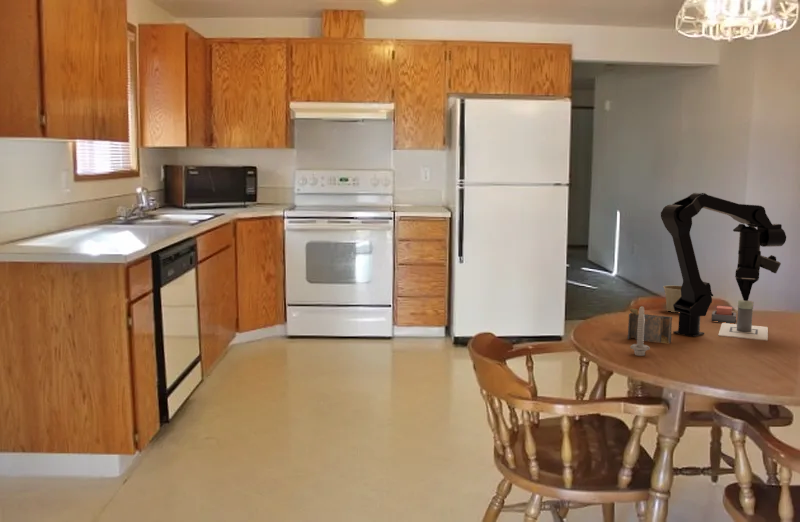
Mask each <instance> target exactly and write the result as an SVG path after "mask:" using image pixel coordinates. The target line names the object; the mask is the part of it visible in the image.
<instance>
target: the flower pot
mask: <svg viewBox="0 0 800 522" xmlns="http://www.w3.org/2000/svg"><path fill="white" fill-rule="evenodd" d="M681 287H682V285H673V284H672V285H663V287H662V288H663V289H664V293H665V303H666V311H667V312H668V311H671V312H676V311H675V310H674V307H673V305H674V304H675V302H676V301H677V300H678V299H679V298H680V297H681ZM671 312H670V313H671Z"/></svg>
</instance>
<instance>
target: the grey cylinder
mask: <svg viewBox="0 0 800 522" xmlns="http://www.w3.org/2000/svg"><path fill="white" fill-rule="evenodd" d="M753 310H754V301H752V300H748V301H744V300H743V299H741V300H737V315H736V324H737V331H740V332H751V328H752V326H753V324H752V323H753Z"/></svg>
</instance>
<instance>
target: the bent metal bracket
mask: <svg viewBox="0 0 800 522" xmlns="http://www.w3.org/2000/svg"><path fill="white" fill-rule="evenodd" d="M629 311H630V312H629V313H628V327H627V340H630V339H631V338H632V339H635V341H637V335H638V332H637V331H638V330H637V329H638V328H637V327H638V317H639V308H631V307H629ZM644 315H645V316H644V317H645V318H644V319H645V321H644V322H645V323H644V324H645V325H644V326H645V327H644V338H643V339H644V341H643V342H650V343H660V344H667V345H670V344H671V342H672V330H673V329H672V327H673V326H672V324H673V317H672V316H668V315H667V316H665V315H656V314H645V313H644Z"/></svg>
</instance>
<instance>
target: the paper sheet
mask: <svg viewBox="0 0 800 522" xmlns="http://www.w3.org/2000/svg"><path fill="white" fill-rule="evenodd" d="M768 329H769V328H768V326H760V325H752V328H751V332H740V331H737V323H735V324H730V323H721V325H720V328H719V332H718V335H717V336H720V337H728V338H736V339H737V338H738V339H747V340H750V339H751V340H757V341H766V342H768V340H769V332H768Z"/></svg>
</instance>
